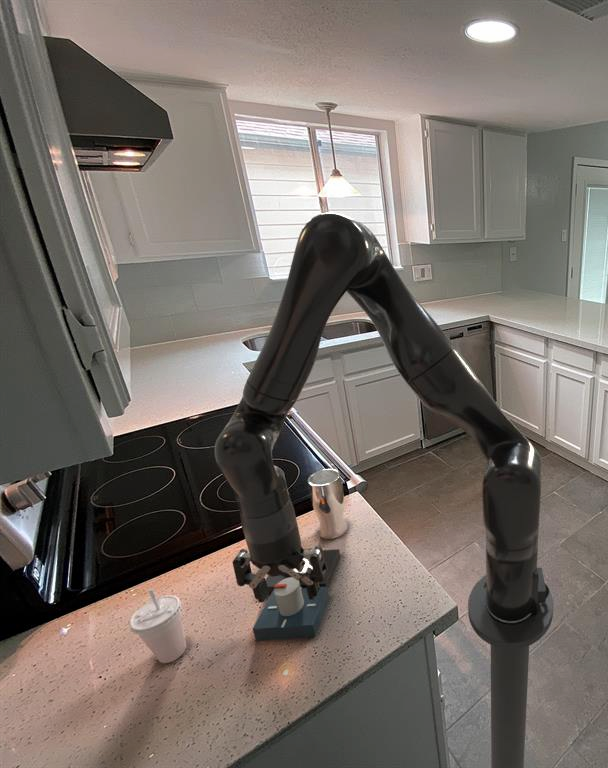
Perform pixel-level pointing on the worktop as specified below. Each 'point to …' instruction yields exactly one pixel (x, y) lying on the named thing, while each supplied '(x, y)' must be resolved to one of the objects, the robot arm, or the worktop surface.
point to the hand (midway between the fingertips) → (288, 596)
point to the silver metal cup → (328, 502)
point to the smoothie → (160, 627)
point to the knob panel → (291, 618)
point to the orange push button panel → (331, 561)
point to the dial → (289, 596)
